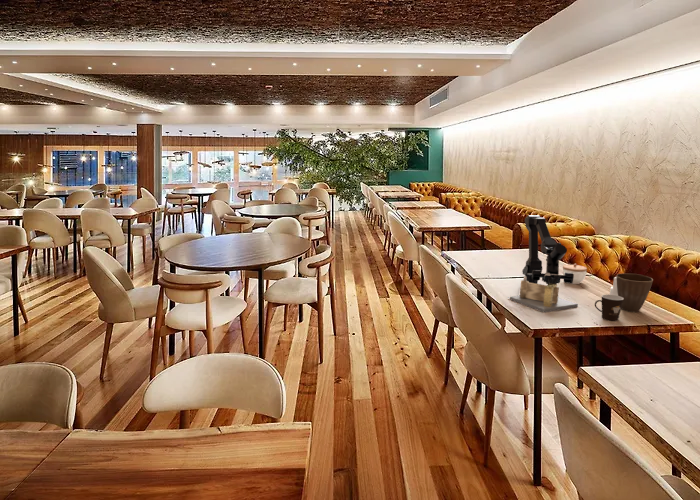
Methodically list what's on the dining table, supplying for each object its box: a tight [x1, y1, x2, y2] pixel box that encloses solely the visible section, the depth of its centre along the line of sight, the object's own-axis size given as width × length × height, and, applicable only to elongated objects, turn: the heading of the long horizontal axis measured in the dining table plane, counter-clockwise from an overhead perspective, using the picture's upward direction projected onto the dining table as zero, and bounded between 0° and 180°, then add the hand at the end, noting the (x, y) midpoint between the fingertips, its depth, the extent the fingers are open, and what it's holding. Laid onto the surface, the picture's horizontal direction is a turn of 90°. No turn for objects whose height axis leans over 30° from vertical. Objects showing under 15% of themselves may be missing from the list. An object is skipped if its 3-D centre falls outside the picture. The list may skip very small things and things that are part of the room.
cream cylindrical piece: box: [609, 276, 618, 296], centre depth 240 cm, size 9×9×12 cm
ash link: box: [519, 279, 560, 304], centre depth 233 cm, size 18×4×8 cm, turn 51°
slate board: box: [509, 294, 579, 313], centre depth 234 cm, size 22×22×2 cm
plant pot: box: [616, 273, 654, 313], centre depth 224 cm, size 15×15×16 cm
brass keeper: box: [543, 283, 558, 307], centre depth 227 cm, size 3×8×11 cm, turn 141°
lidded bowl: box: [562, 263, 588, 285], centre depth 274 cm, size 13×13×11 cm
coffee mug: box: [594, 294, 624, 322], centre depth 212 cm, size 12×9×10 cm
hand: (551, 291), depth 230 cm, fingers closed
